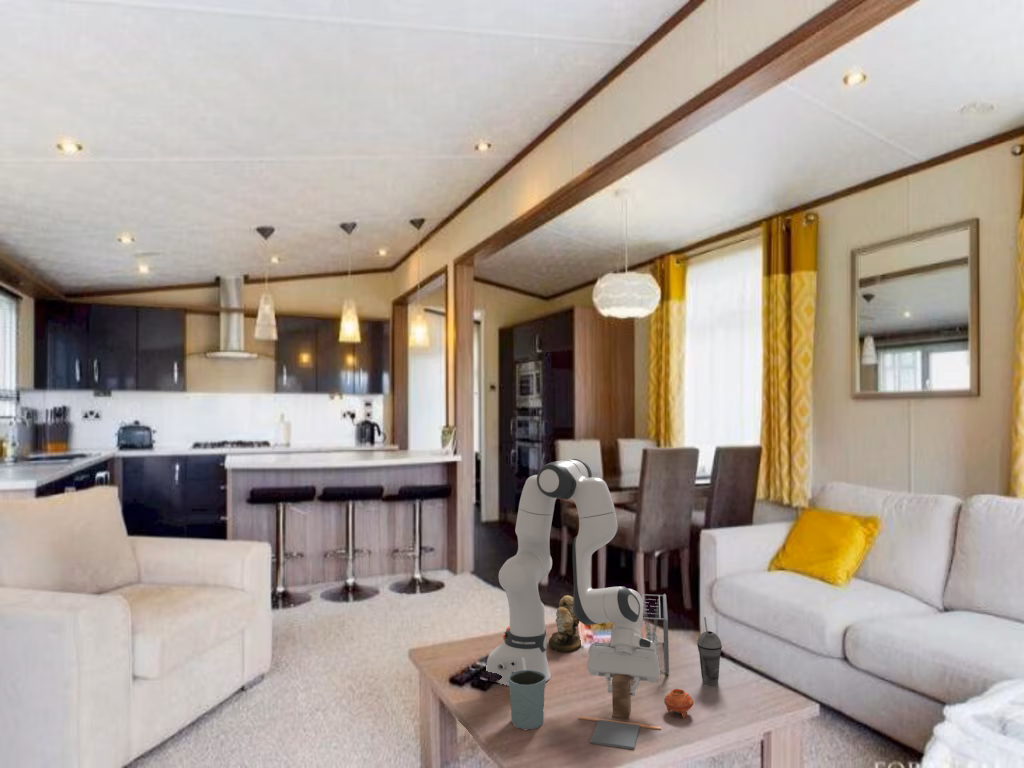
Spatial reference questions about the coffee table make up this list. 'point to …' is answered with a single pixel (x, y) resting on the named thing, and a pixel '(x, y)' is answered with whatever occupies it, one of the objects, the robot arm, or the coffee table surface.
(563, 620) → the brown lumpy statue
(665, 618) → the newton's cradle
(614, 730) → the mat
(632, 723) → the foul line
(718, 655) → the beverage cup
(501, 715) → the coffee table surface
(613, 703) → the wooden square post
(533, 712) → the teal tumbler
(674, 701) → the pot
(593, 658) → the robot arm
